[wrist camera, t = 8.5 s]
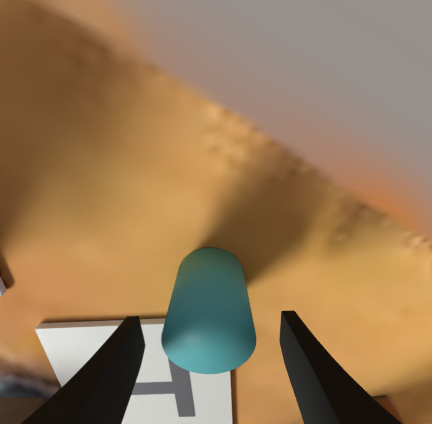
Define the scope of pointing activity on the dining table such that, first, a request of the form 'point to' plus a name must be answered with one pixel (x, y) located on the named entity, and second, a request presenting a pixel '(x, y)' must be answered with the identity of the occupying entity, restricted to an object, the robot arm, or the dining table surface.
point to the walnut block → (18, 408)
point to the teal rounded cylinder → (209, 314)
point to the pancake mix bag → (389, 406)
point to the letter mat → (143, 374)
